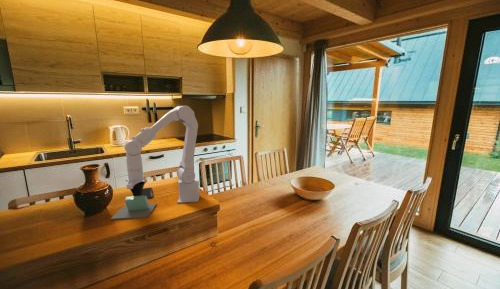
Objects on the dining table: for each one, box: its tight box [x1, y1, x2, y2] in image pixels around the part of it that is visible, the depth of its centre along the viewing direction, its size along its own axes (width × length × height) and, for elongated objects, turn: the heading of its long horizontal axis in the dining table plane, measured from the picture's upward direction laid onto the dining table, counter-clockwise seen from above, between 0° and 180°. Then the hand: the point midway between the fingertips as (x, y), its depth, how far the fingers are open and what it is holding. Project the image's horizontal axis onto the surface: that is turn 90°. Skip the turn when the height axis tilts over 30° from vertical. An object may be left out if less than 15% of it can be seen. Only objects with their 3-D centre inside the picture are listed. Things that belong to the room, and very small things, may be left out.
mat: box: [110, 203, 157, 221], centre depth 98 cm, size 14×12×1 cm
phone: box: [142, 187, 154, 200], centre depth 118 cm, size 8×1×15 cm
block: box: [124, 195, 150, 211], centre depth 98 cm, size 8×2×6 cm, turn 96°
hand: (138, 199), depth 99 cm, fingers closed
